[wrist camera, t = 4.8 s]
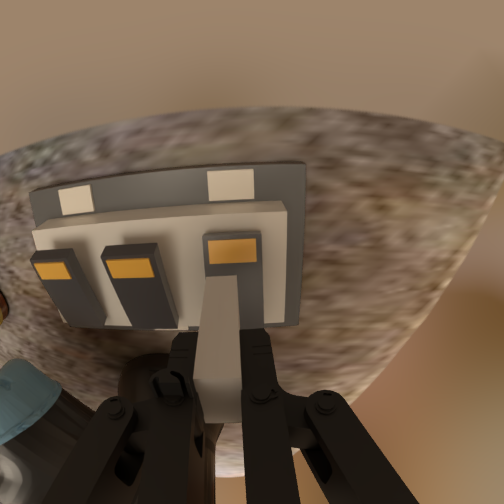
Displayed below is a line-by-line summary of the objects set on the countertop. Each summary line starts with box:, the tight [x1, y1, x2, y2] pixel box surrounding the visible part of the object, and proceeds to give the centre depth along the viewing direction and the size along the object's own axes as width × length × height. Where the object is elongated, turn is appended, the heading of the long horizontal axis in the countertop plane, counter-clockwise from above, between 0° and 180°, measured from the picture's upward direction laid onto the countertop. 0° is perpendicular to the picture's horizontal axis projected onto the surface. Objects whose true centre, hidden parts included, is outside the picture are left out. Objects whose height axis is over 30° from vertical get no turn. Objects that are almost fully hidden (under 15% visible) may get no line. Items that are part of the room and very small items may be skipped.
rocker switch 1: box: [30, 248, 107, 327], centre depth 21 cm, size 4×8×1 cm, turn 2°
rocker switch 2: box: [100, 243, 179, 329], centre depth 21 cm, size 4×8×1 cm, turn 2°
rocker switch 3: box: [202, 231, 264, 330], centre depth 21 cm, size 4×8×1 cm, turn 2°
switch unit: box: [29, 162, 306, 331], centre depth 24 cm, size 26×16×5 cm, turn 92°
